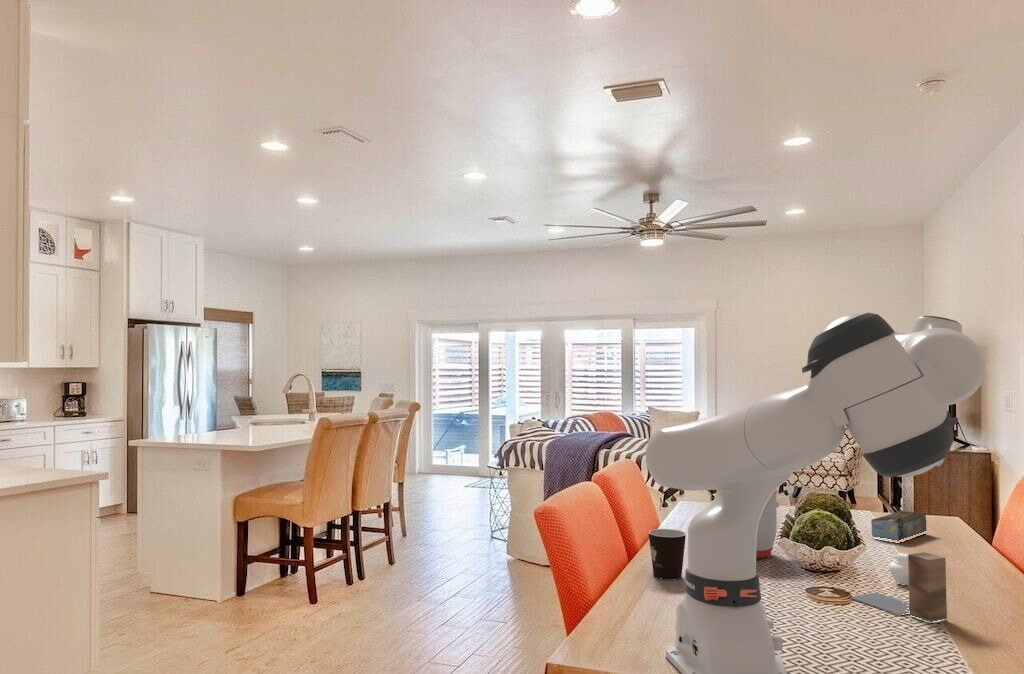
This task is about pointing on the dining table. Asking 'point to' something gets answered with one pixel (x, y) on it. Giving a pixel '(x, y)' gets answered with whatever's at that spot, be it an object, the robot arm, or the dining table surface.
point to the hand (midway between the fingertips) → (902, 471)
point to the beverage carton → (899, 525)
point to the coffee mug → (667, 552)
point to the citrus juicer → (767, 528)
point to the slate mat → (883, 602)
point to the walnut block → (927, 586)
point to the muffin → (900, 569)
